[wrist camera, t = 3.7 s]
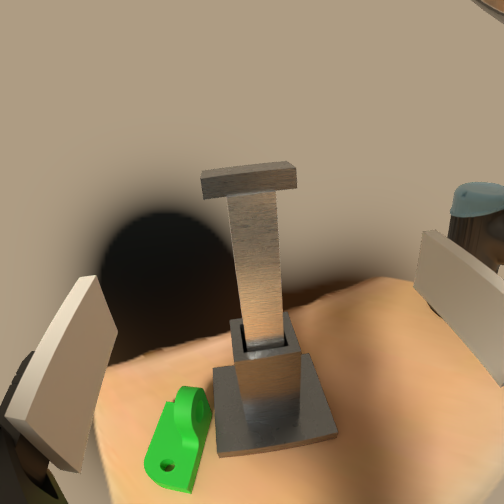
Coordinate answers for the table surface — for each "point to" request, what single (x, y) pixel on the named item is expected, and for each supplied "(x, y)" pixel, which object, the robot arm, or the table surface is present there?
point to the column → (255, 243)
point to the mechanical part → (179, 440)
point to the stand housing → (269, 398)
